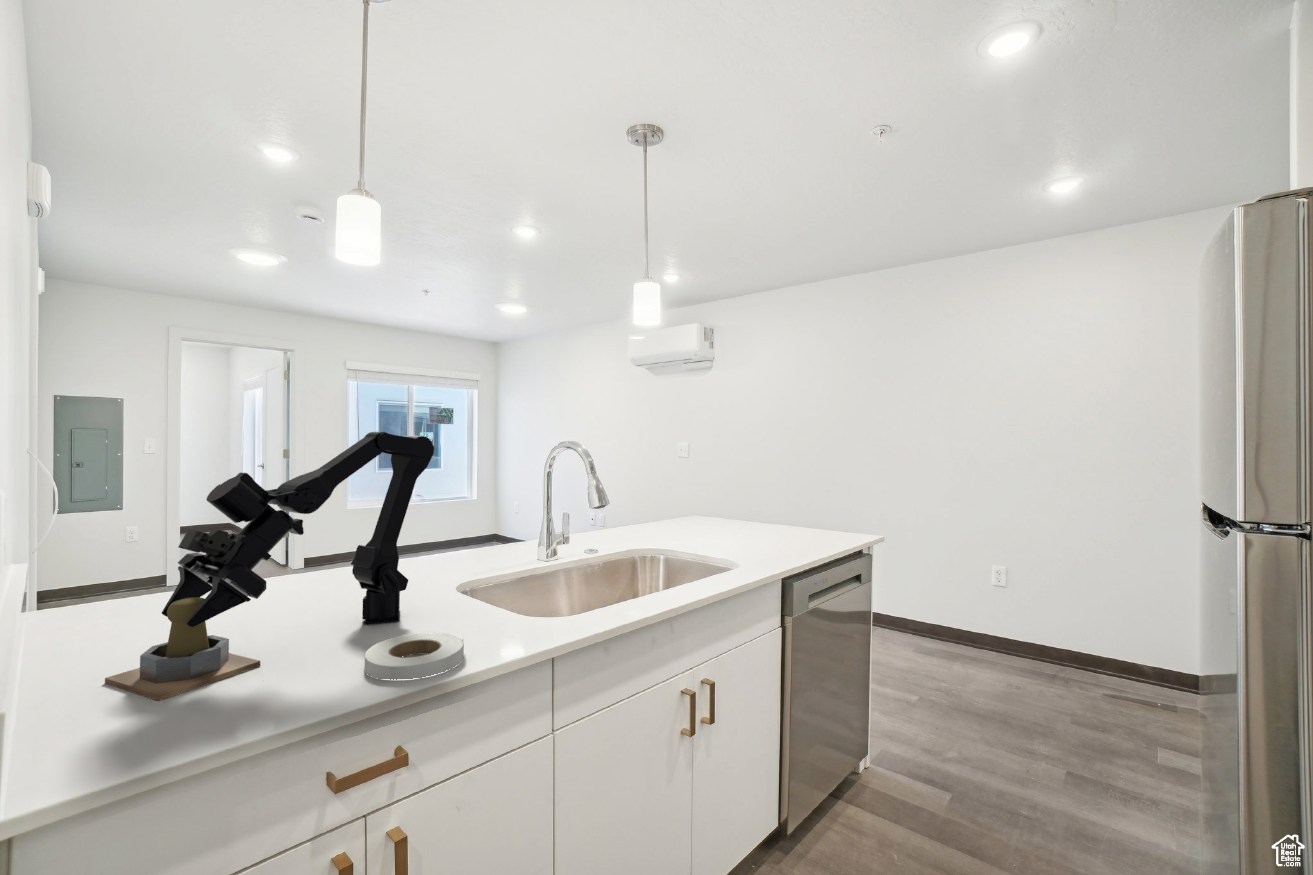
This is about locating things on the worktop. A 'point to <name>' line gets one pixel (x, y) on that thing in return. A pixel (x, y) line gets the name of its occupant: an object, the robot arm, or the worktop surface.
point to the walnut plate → (169, 689)
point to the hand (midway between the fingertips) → (176, 620)
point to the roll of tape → (391, 665)
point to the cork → (185, 629)
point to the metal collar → (183, 662)
